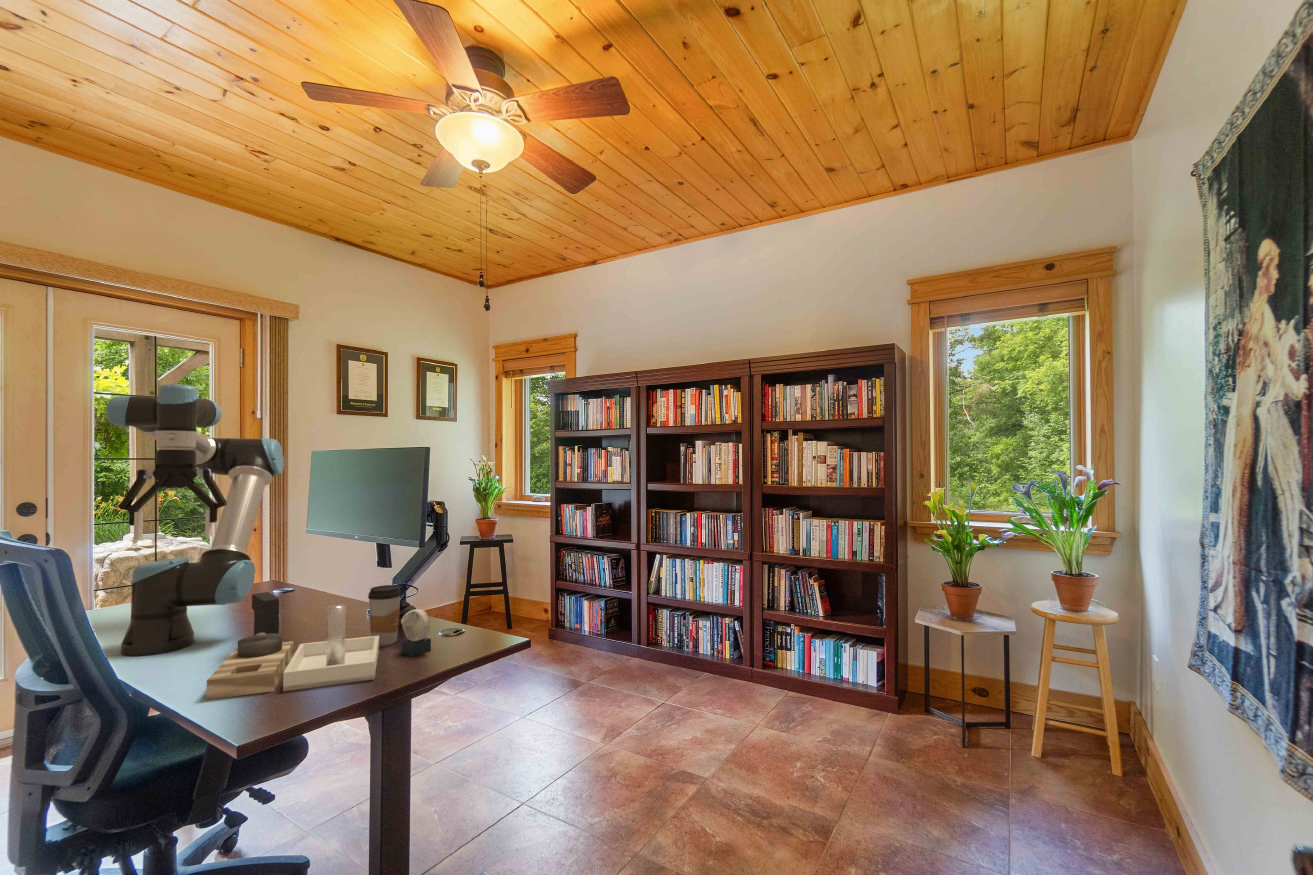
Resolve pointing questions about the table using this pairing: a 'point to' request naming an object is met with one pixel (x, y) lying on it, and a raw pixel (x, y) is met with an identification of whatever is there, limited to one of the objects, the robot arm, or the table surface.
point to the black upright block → (266, 613)
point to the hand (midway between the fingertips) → (173, 538)
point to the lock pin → (336, 634)
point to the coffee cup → (384, 613)
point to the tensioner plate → (251, 667)
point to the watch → (414, 643)
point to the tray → (313, 671)
